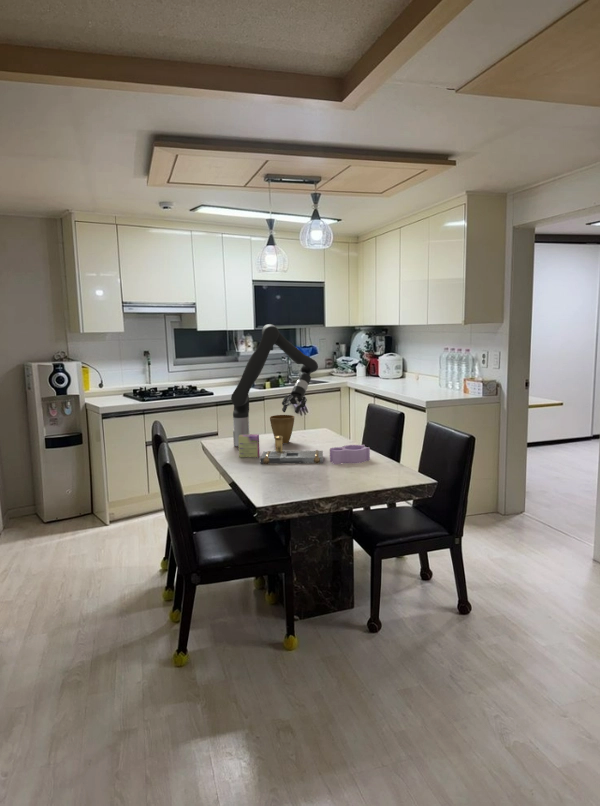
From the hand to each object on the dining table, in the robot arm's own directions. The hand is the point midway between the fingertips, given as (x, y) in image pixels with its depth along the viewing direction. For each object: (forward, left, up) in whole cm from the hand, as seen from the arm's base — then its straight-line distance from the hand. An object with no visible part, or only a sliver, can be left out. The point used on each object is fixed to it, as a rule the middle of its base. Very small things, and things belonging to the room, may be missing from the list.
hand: (289, 412), depth 291 cm
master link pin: (-6, -10, -22) cm, 25 cm away
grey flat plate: (+2, -22, -22) cm, 31 cm away
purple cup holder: (+32, -25, -22) cm, 46 cm away
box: (-22, -13, -22) cm, 34 cm away
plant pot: (-6, +18, -22) cm, 29 cm away
